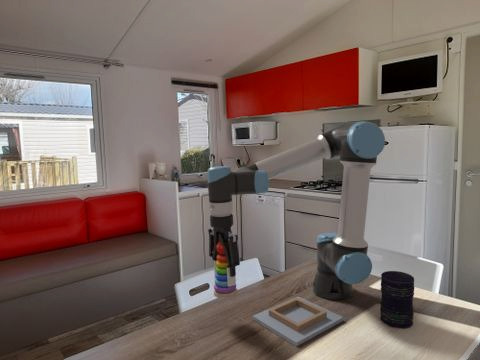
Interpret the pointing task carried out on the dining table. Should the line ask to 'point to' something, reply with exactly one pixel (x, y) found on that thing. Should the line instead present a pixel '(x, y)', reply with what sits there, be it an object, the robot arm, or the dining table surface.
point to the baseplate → (297, 320)
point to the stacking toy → (222, 276)
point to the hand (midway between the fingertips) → (225, 281)
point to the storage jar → (397, 299)
